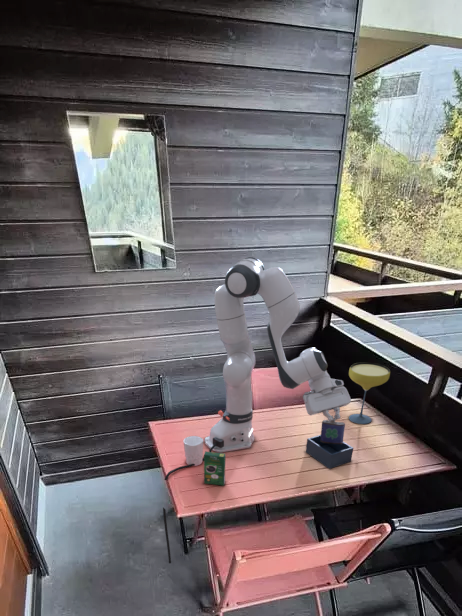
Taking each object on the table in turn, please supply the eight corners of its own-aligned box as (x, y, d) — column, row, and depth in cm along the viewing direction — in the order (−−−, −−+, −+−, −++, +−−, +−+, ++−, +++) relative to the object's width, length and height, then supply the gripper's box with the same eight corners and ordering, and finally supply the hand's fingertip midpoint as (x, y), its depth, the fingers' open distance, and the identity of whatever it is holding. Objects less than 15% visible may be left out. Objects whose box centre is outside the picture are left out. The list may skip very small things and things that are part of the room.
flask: (343, 442, 182) (346, 418, 175) (342, 445, 180) (344, 421, 173) (320, 439, 185) (322, 415, 178) (319, 442, 182) (321, 418, 176)
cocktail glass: (372, 431, 205) (383, 379, 190) (335, 421, 213) (343, 370, 198) (384, 416, 217) (395, 367, 202) (349, 408, 225) (357, 359, 210)
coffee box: (226, 482, 170) (225, 452, 163) (224, 486, 168) (224, 456, 160) (205, 480, 171) (204, 450, 164) (204, 484, 169) (202, 454, 161)
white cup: (189, 468, 178) (188, 447, 172) (181, 459, 184) (180, 438, 178) (207, 464, 181) (206, 442, 175) (199, 455, 187) (198, 434, 181)
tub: (329, 468, 178) (331, 455, 175) (305, 452, 189) (307, 438, 185) (350, 461, 183) (353, 447, 179) (326, 445, 194) (328, 432, 190)
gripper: (305, 389, 169) (318, 422, 168) (345, 379, 178) (358, 411, 177) (297, 396, 175) (310, 428, 174) (337, 386, 183) (349, 417, 182)
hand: (334, 419), depth 176 cm, fingers closed on flask, 2 cm apart
